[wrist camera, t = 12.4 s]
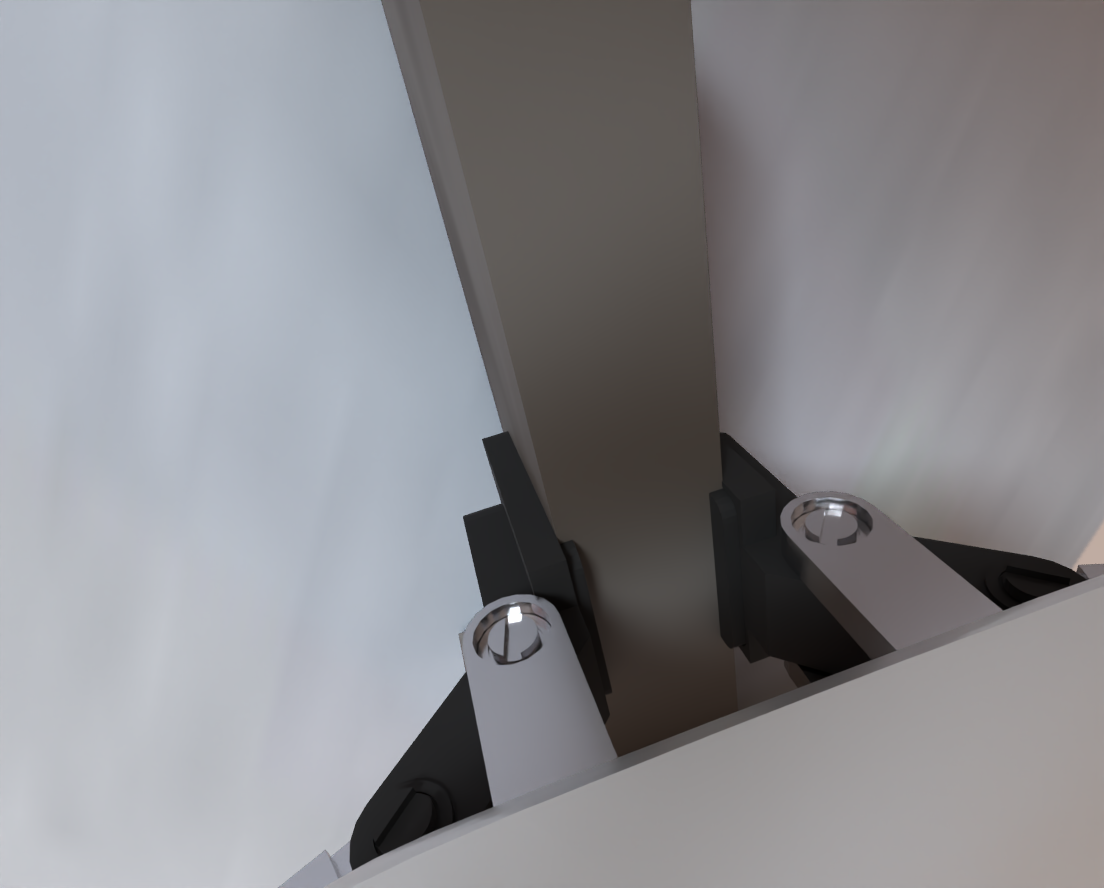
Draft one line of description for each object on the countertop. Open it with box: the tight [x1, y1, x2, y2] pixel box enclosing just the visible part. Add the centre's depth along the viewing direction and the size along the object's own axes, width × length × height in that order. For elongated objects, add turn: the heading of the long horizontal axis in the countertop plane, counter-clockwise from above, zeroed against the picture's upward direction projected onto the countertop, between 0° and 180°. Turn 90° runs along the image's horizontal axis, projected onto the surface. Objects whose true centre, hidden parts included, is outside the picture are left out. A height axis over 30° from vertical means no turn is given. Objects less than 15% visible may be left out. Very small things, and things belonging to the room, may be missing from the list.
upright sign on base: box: [381, 0, 797, 757], centre depth 10 cm, size 14×7×5 cm, turn 12°
